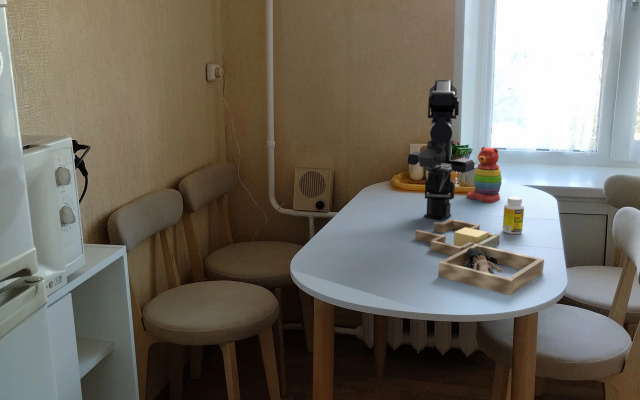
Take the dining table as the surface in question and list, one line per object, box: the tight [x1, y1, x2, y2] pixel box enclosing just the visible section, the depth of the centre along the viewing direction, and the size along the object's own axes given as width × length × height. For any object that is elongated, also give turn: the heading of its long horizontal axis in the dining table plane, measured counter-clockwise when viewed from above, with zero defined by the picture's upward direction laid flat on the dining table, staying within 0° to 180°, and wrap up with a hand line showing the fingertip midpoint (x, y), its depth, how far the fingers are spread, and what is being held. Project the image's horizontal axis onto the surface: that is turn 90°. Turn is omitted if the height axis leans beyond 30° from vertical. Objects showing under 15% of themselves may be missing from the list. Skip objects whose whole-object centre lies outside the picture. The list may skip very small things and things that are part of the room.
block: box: [453, 227, 489, 247], centre depth 185 cm, size 7×6×4 cm
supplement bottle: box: [502, 196, 525, 235], centre depth 196 cm, size 6×6×10 cm
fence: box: [437, 244, 545, 296], centre depth 164 cm, size 18×18×4 cm
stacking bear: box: [466, 146, 503, 204], centre depth 233 cm, size 11×10×18 cm
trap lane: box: [414, 219, 500, 256], centre depth 188 cm, size 20×23×2 cm
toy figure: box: [467, 247, 503, 274], centre depth 164 cm, size 7×6×15 cm
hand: (438, 191), depth 192 cm, fingers closed
